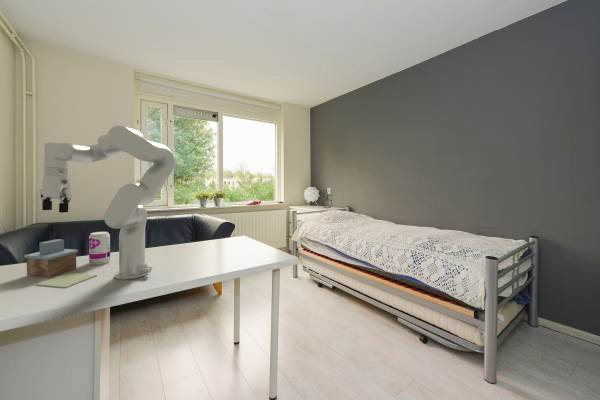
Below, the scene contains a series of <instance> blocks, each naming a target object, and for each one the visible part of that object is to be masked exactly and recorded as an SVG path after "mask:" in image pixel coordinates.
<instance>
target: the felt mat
mask: <svg viewBox="0 0 600 400" xmlns="http://www.w3.org/2000/svg"><path fill="white" fill-rule="evenodd" d="M95 277H97V274H90V273H89V274H88V273H79V272H67V273H64V274H61V275H58V276H55V277H52V278H49V279H48V280H44V281H42V282H39V283H35V286H40V287H52V288H62V289H67V288H70V287H72V286H74V285H77V284H80V283H83V282H85V281H87V280H91V279H93V278H95Z"/></svg>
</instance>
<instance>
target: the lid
mask: <svg viewBox="0 0 600 400" xmlns="http://www.w3.org/2000/svg"><path fill="white" fill-rule="evenodd" d="M38 248H39V251H37V252H33V253H29V254H24V255H23V258H24V259H27V258H34V259H47V260H50V259H54V258H58V257H61V256H65V255H69V254H73V253H76V254H77V253H79V249H71V248H70V249H69V248H65V239H57V238H56V239H52V240H47V241H42V242H39V247H38Z"/></svg>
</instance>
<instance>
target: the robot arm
mask: <svg viewBox="0 0 600 400" xmlns="http://www.w3.org/2000/svg"><path fill="white" fill-rule="evenodd" d="M120 153H126V154H129V155H130V156H132V157H133V158H136V159H137V160H140V161H142V162H148V163H153V164H152V165H151V166H150V167H149V168H148V169H147V170H146V171H145V173H144V174H143V175H142V177H141V178H140V180H139V181H138V182H129V183H126V184H124V185H122V186H121V187H120V188H119V189H118V190H117V192H116V193H115V194H114V196H113V199H112V200H111V202H110V203H109V205H108V206H107V208H106V209H105V212H104V216H103V219H104V220H103V221H104V222H105V224H106V225H107V226H108V227H109V228H111V229H116V230H117V229H120V230H119V234H118V235H119V237H118V251H119V252H118V254H119V255H118V259H119V260H118V264H119V265H118V266H119V268H118V269H119V270H118V271H116V272H115V273H114V277H115V278H116V279H117V280H132V279H138V278H142V277H145V276H146V275H148V274H150V273H152V270H153V267H152V266H148V263H147V262H146V226H147V221H148V212H147V209H146V208H145V205H149V204H152V203H153V202H154V201H155V200H156V198H157V197H158V195H159V193H160V192H161V190H162V189H163V187H164V185H165V184H166V182H167V180H168V179H169V177H170V175H172V173H173V171H174V169H175V163H176V162H175V156H174V153H173V151H172V150H171V149H170V148H169V147H168V146H166V145H164V144H162V143H158V142H156V141H155V142H154V141H151V140H149V139H147V138H145V137H144V135H143V134H142V133H141V132H140V131H139V130H136V129H134V128H130V127H127V126H125V125H120V124H119V125H114V126H112V127H110V128H109V130H108V131H107V134H103V135H100V136H98V138H97V144H91V145H84V144H77V143H71V142H52V141H47V142H45V143H44V144H43V179H42V187H41V189H40V190H39V193H40V197H41V203H42V205H41V206H42V207H41V208H42V209H41V210H42V211H52V210H53V201H52V200H53V199H57V200H58V201H59V203H58V212H59V213H61V214H62V213H69V203H70V201H71V200H72V196H73V193H72V192H71V183H70V177H69V162H74V163H76V162H77V163H85V164H86V163H94V162H99V161H103V160H106V159H109V157H112V156H113V155H118V154H120Z"/></svg>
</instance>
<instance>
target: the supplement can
mask: <svg viewBox="0 0 600 400" xmlns="http://www.w3.org/2000/svg"><path fill="white" fill-rule="evenodd" d="M88 259H89V264H90V265H91V266H92V265H93V266H99V265H105V264H107V263H109V262H110V261H111V234H110V233H109V232H108V231H95V232H91V233H90V234H89V236H88Z"/></svg>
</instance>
